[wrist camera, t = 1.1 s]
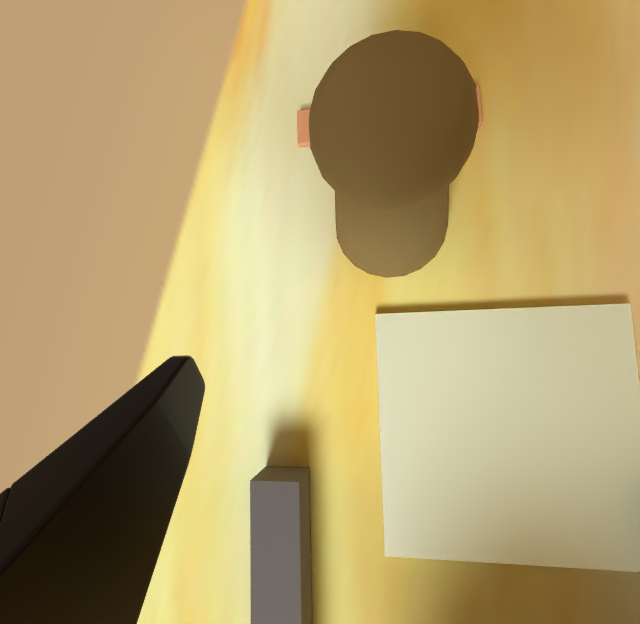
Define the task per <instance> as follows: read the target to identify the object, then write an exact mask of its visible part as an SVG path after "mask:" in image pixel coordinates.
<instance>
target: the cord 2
mask: <svg viewBox="0 0 640 624" xmlns="http://www.w3.org/2000/svg"><path fill="white" fill-rule="evenodd" d="M250 521H251V624H312V578H311V528H310V478H309V468H302V467H265V468H264V469H263V470H261V471H260V472H259V473H258V474H257V475H256V476H255V477H254V478H253V479H252V480H250Z"/></svg>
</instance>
